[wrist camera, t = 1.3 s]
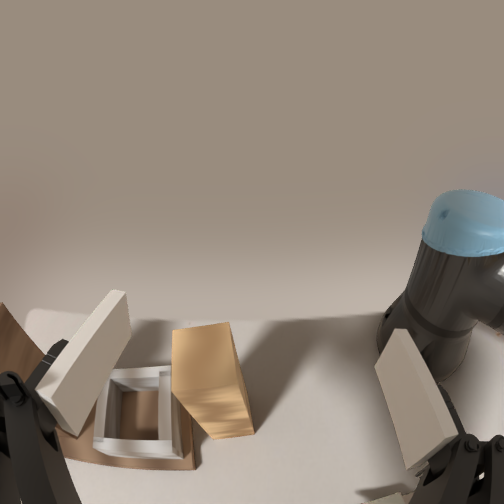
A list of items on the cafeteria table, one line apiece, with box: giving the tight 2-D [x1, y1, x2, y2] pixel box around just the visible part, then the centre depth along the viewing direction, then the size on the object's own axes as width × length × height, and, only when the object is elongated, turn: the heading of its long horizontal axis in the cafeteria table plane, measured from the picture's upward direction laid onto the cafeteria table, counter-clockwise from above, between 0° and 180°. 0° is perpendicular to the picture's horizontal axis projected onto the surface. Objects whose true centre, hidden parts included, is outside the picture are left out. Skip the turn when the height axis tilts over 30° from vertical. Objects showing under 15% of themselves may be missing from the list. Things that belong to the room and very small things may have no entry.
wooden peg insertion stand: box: [0, 302, 196, 470], centre depth 22 cm, size 21×14×20 cm, turn 99°
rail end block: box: [171, 322, 255, 440], centre depth 25 cm, size 5×6×15 cm
